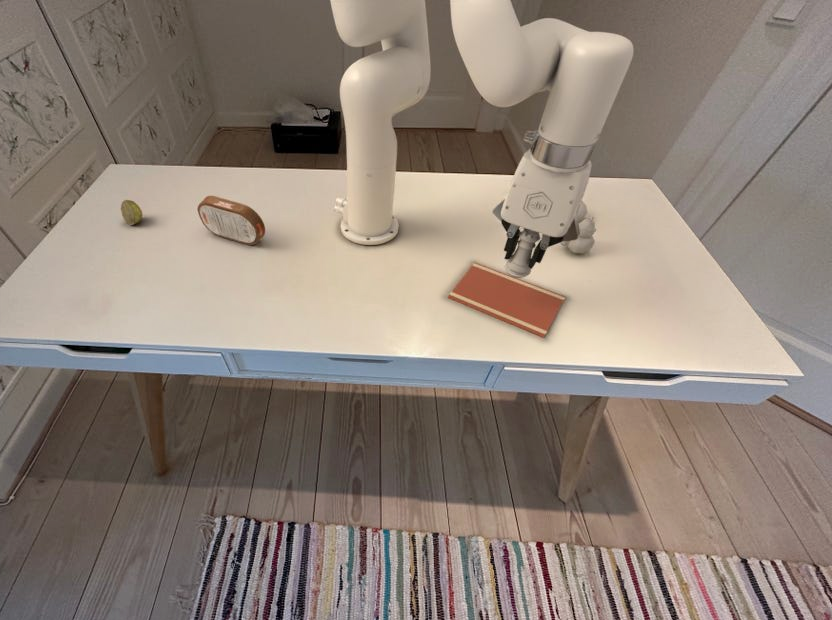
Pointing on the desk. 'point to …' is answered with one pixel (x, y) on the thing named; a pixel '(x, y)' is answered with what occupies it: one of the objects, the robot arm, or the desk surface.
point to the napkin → (508, 299)
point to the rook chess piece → (522, 254)
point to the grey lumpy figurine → (582, 237)
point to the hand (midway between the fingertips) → (521, 258)
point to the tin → (231, 220)
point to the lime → (131, 212)
